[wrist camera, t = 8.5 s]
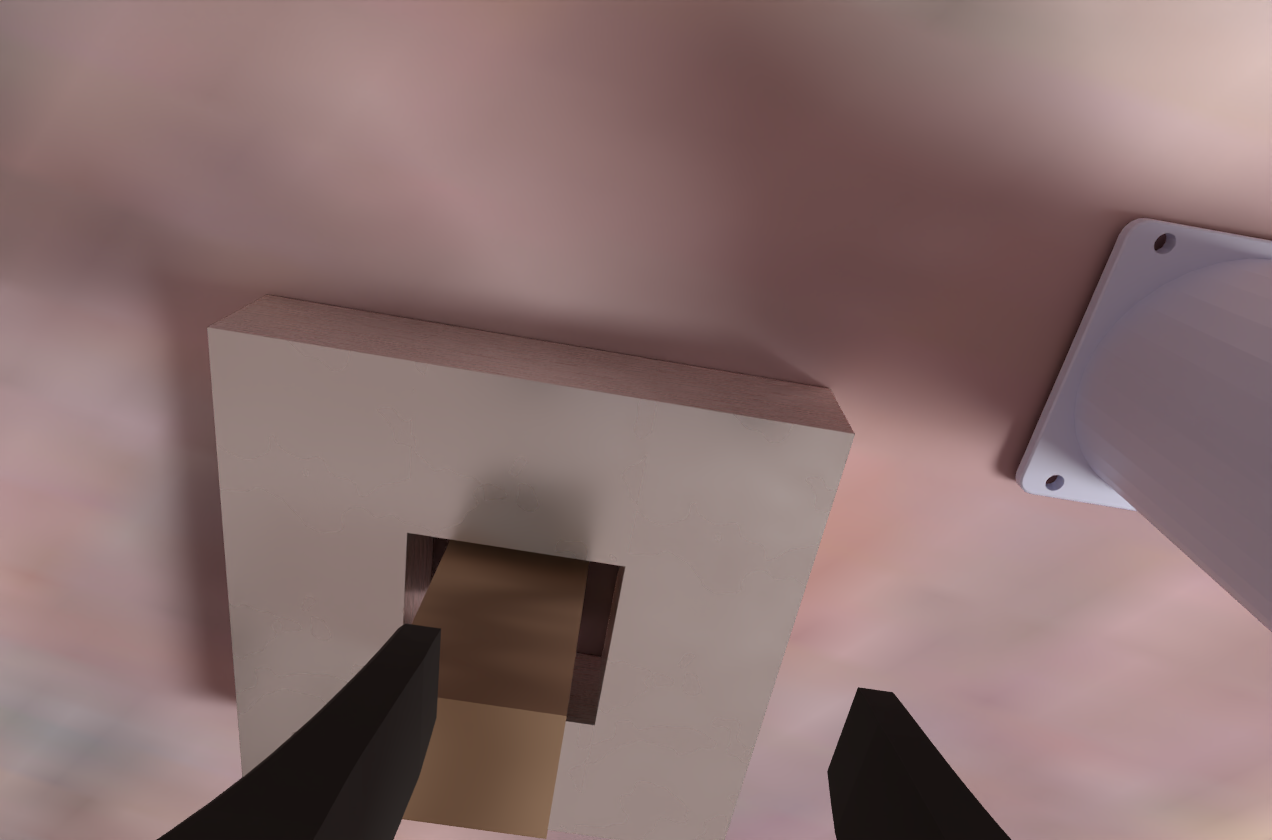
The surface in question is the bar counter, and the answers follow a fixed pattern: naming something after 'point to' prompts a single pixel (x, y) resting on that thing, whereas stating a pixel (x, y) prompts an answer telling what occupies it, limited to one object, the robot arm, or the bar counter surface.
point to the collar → (522, 531)
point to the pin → (499, 686)
